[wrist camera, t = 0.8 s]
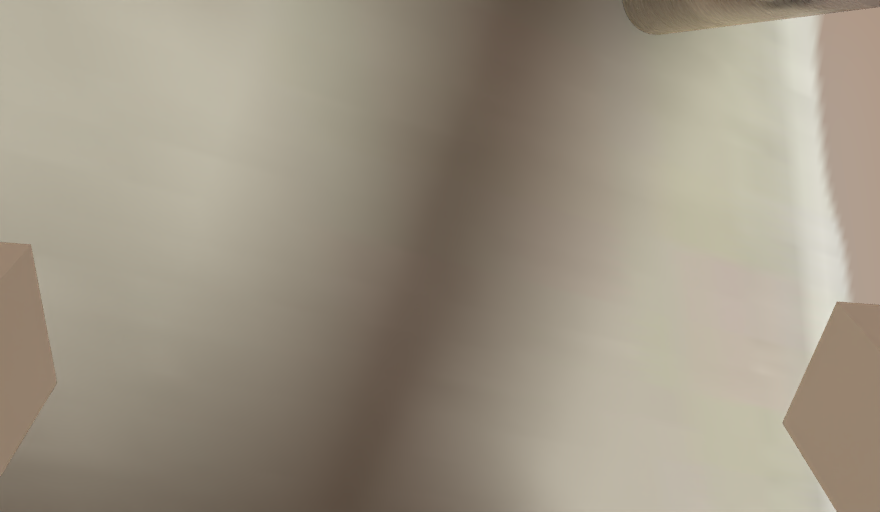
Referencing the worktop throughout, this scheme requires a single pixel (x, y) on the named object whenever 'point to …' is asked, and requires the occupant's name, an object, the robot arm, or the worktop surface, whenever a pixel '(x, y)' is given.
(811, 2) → the steel pin
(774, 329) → the worktop surface
